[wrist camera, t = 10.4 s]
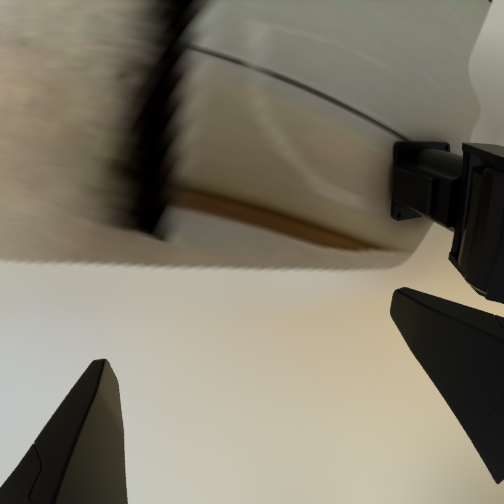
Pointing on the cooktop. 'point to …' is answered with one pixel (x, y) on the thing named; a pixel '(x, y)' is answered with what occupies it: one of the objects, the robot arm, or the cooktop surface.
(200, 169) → the cooktop surface
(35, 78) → the cooktop surface
